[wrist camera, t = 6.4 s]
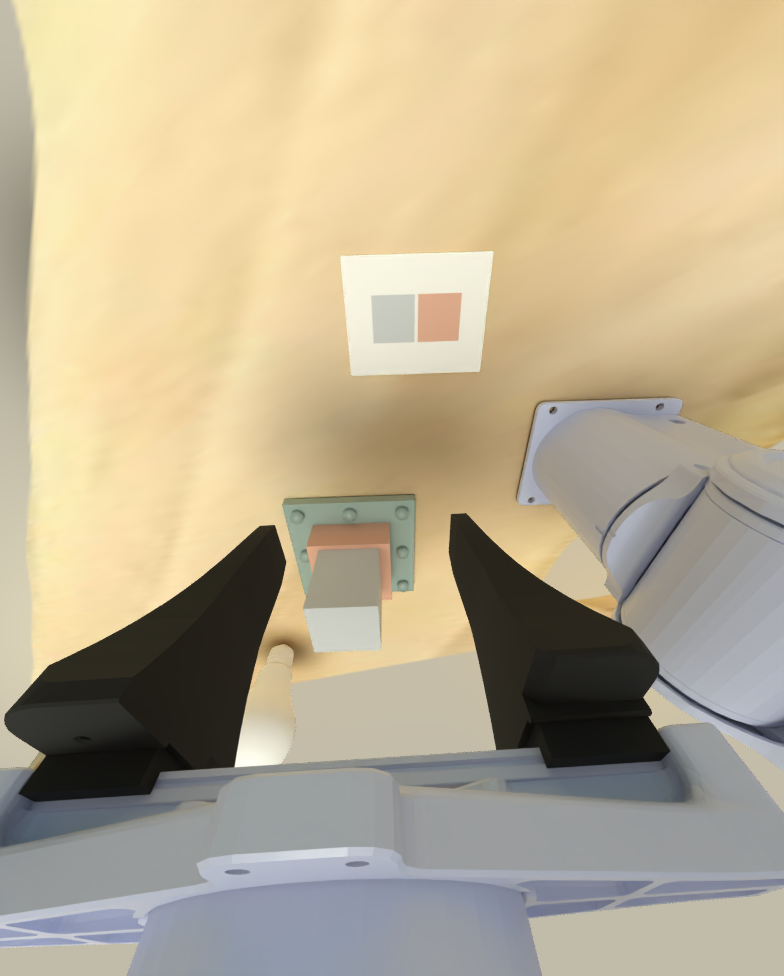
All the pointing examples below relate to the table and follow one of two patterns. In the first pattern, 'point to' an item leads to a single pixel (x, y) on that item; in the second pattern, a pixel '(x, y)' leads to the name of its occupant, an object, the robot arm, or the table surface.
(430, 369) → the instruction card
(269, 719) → the lightbulb
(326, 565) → the grey brick
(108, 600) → the table surface
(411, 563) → the build plate
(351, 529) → the base brick
